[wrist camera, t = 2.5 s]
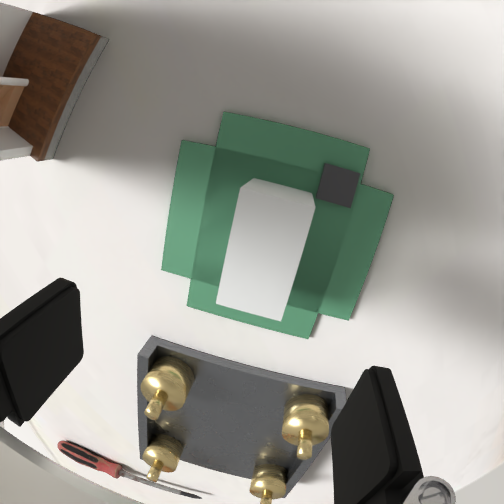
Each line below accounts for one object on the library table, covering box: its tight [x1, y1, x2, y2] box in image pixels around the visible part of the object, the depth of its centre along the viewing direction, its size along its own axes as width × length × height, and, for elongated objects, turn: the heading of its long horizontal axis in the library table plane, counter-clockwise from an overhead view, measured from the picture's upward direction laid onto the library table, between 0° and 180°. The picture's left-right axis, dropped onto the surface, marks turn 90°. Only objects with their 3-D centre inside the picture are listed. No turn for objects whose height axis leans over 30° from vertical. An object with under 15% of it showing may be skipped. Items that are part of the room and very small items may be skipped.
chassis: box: [137, 336, 346, 504], centre depth 27 cm, size 18×18×6 cm
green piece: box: [161, 112, 394, 339], centre depth 20 cm, size 15×15×6 cm
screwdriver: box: [58, 441, 202, 499], centre depth 36 cm, size 25×3×3 cm, turn 83°
